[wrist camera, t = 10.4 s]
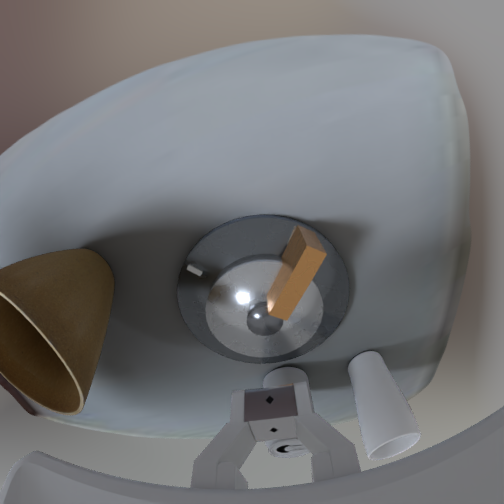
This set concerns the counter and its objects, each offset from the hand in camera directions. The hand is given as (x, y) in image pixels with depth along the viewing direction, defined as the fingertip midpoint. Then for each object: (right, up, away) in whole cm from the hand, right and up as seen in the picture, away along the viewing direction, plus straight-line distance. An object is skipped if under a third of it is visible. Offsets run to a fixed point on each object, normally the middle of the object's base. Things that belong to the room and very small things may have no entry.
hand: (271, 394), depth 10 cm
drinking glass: (+15, -10, +26) cm, 31 cm away
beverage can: (+4, -12, +26) cm, 29 cm away
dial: (+1, +2, +19) cm, 19 cm away
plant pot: (-21, +3, +20) cm, 29 cm away
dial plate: (+1, +1, +21) cm, 21 cm away
